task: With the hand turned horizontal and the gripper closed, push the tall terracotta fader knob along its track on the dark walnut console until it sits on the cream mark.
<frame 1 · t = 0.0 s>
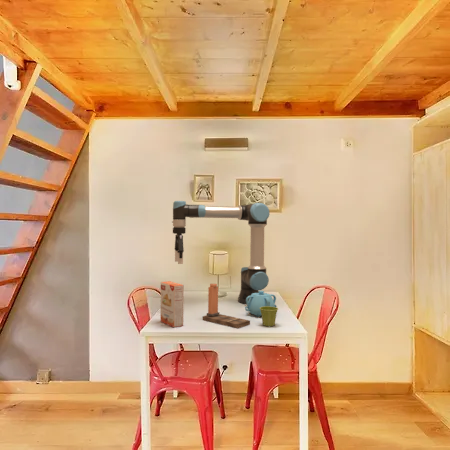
hand: (178, 262, 225), 28 cm above the table, tool pointing down, fingers open, 13 cm apart
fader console: (225, 322, 198), on the table
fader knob: (213, 299, 204), point 11 cm above the table, slide at 0.0 cm
plant pot: (268, 325, 193), on the table
cracker box: (171, 324, 194), on the table
decorative pot: (260, 314, 216), on the table
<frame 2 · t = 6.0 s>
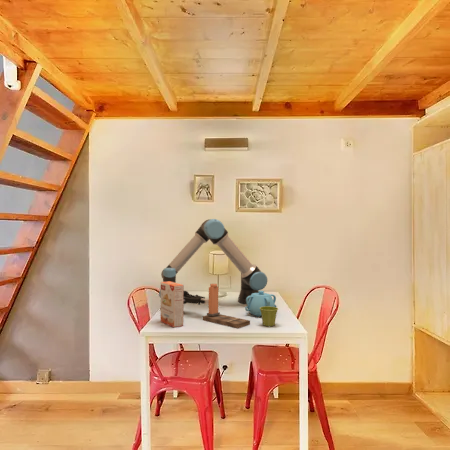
hand: (210, 302, 204), 9 cm above the table, tool horizontal, fingers closed
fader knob: (213, 299, 203), point 11 cm above the table, slide at 0.2 cm, touching gripper
everything else where it was.
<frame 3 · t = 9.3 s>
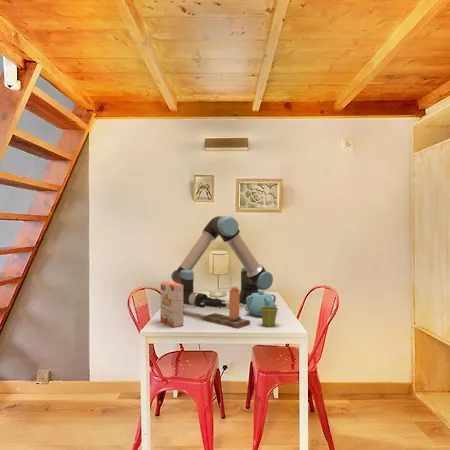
hand: (231, 306, 195), 9 cm above the table, tool horizontal, fingers closed
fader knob: (234, 303, 194), point 11 cm above the table, slide at 14.6 cm, touching gripper
everything else where it was.
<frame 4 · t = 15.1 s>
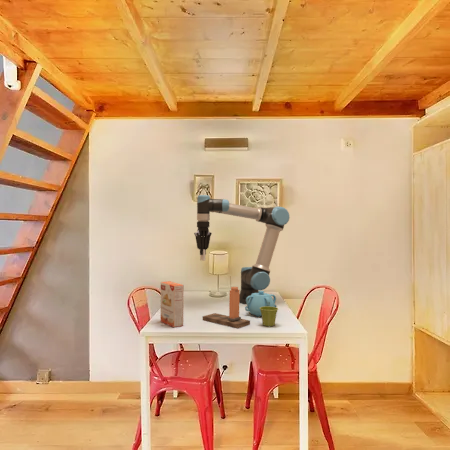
hand: (202, 260, 227), 29 cm above the table, tool pointing down, fingers closed
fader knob: (234, 303, 194), point 11 cm above the table, slide at 14.6 cm
everything else where it was.
at the end: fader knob slide at 14.6 cm; cracker box moved 0.2 cm from its start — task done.
